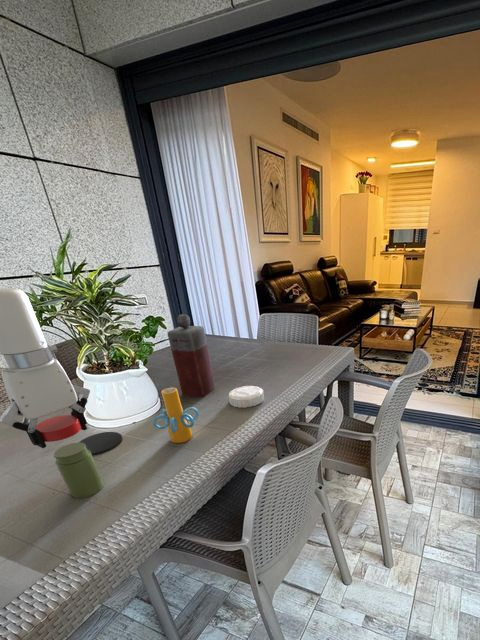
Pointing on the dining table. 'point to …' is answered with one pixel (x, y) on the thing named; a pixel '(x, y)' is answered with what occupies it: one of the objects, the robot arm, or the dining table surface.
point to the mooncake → (246, 396)
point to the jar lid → (59, 427)
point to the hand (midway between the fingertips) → (62, 436)
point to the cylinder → (176, 417)
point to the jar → (78, 470)
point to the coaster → (102, 442)
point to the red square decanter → (191, 358)
